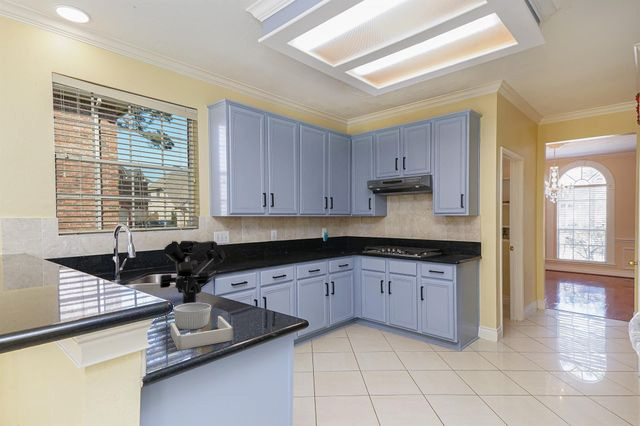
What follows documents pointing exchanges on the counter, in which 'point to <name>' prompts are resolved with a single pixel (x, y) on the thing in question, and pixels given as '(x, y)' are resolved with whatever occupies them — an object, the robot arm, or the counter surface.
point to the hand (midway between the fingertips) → (187, 296)
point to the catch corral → (202, 336)
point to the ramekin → (192, 315)
